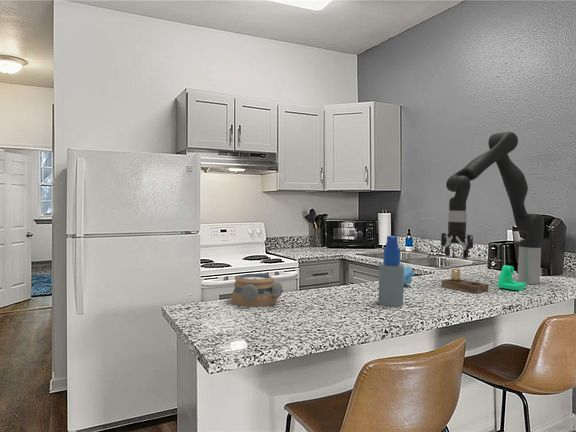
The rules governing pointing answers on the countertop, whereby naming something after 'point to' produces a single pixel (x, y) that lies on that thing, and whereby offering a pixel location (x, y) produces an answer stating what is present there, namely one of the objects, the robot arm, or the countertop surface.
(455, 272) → the bushing
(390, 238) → the spray bottle
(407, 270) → the teapot
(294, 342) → the countertop surface
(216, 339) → the countertop surface
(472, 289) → the jig
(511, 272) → the camera mount
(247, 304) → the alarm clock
